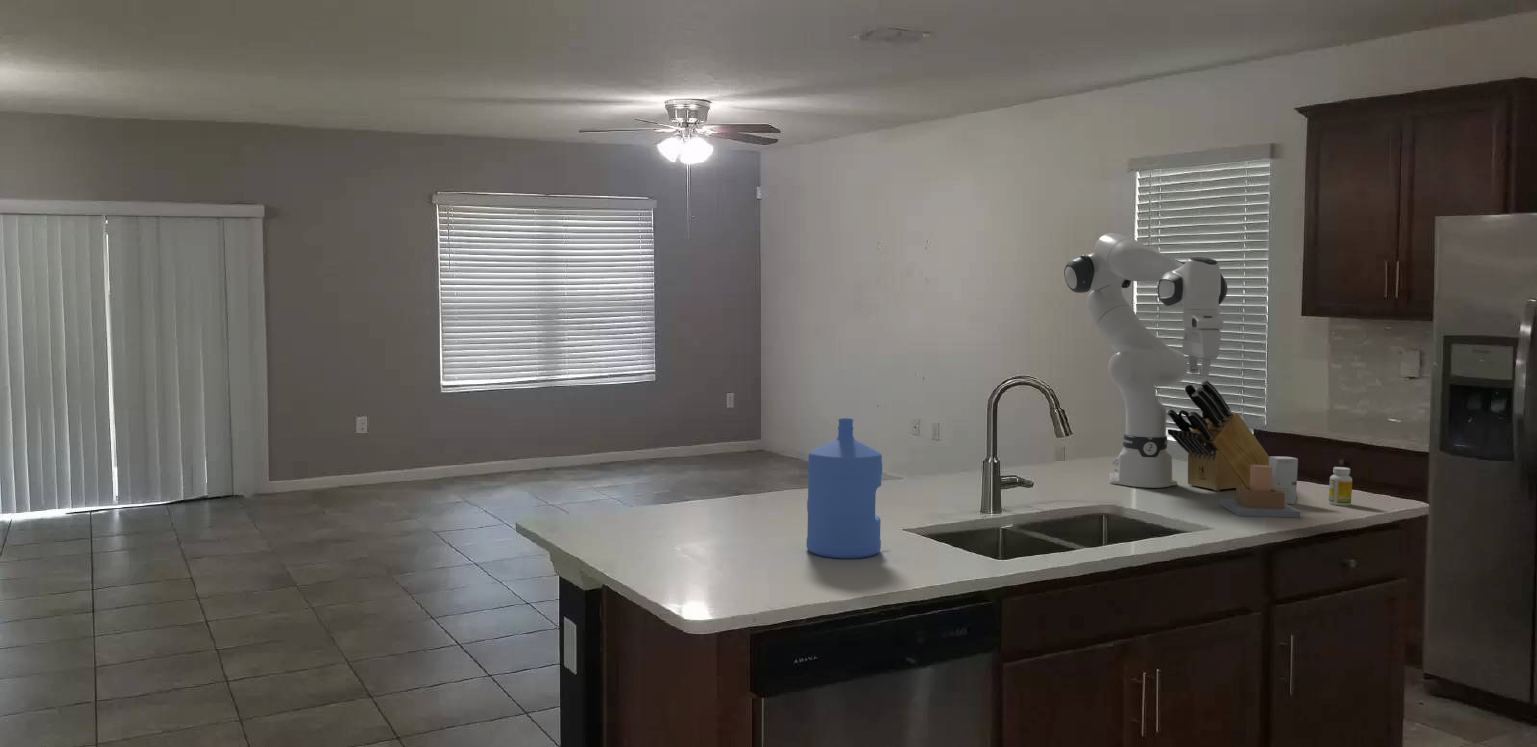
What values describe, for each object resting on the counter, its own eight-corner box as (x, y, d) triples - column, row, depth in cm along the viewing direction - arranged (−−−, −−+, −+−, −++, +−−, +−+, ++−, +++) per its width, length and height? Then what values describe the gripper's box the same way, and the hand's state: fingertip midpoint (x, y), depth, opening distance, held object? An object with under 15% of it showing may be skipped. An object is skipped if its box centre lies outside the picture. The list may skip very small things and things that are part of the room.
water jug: (838, 563, 239) (840, 425, 237) (791, 548, 251) (793, 417, 249) (896, 553, 248) (898, 420, 246) (848, 539, 260) (850, 413, 258)
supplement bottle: (1324, 503, 312) (1326, 467, 312) (1334, 501, 316) (1336, 465, 315) (1345, 506, 308) (1347, 470, 307) (1354, 504, 312) (1356, 468, 311)
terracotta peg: (1248, 503, 303) (1250, 464, 302) (1264, 503, 303) (1266, 465, 302) (1253, 506, 299) (1255, 467, 298) (1270, 506, 299) (1272, 467, 298)
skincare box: (1275, 504, 310) (1277, 458, 309) (1265, 501, 315) (1267, 456, 314) (1297, 504, 311) (1299, 458, 310) (1287, 500, 316) (1289, 455, 315)
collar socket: (1219, 504, 309) (1220, 483, 308) (1279, 506, 308) (1279, 485, 307) (1238, 515, 294) (1239, 493, 293) (1300, 517, 293) (1301, 495, 292)
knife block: (1160, 487, 334) (1165, 378, 332) (1251, 480, 349) (1256, 375, 347) (1190, 494, 324) (1195, 381, 322) (1282, 486, 339) (1287, 378, 337)
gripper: (1177, 319, 314) (1175, 371, 315) (1199, 321, 293) (1197, 377, 294) (1201, 319, 313) (1199, 371, 314) (1225, 322, 293) (1223, 377, 294)
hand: (1198, 374), depth 304 cm, fingers open, 8 cm apart
